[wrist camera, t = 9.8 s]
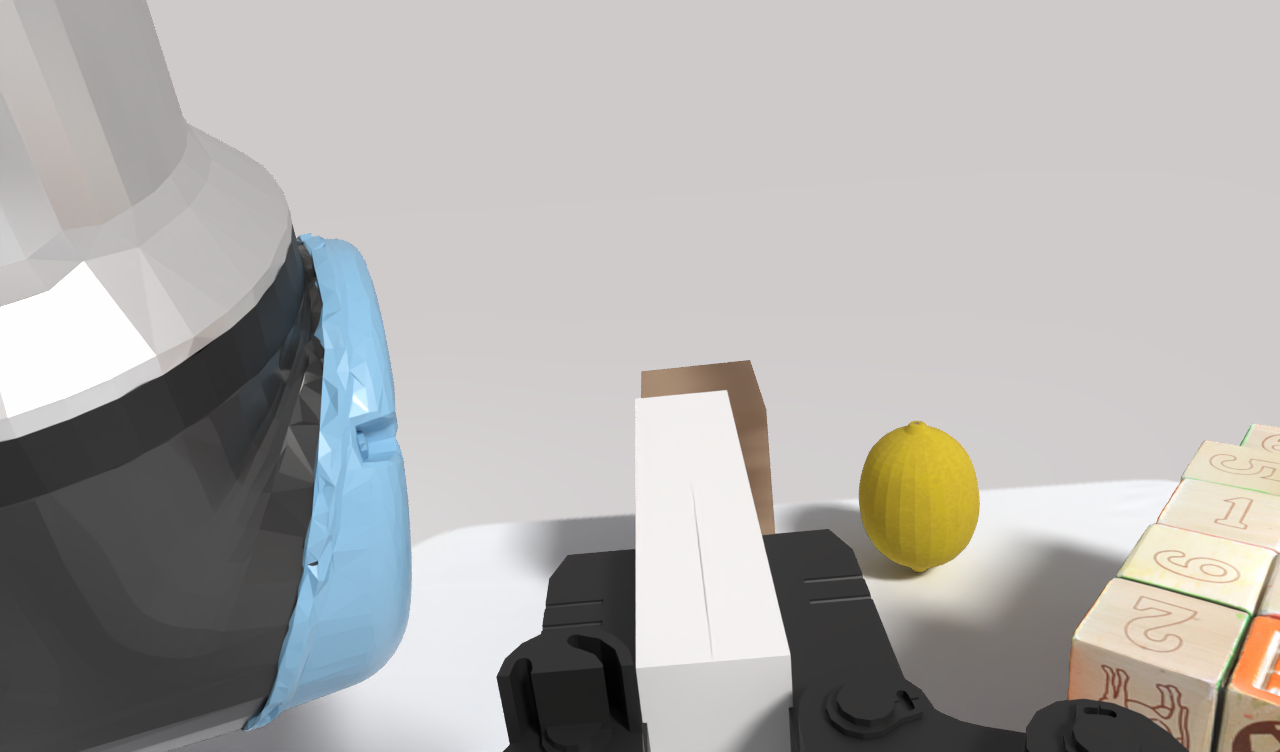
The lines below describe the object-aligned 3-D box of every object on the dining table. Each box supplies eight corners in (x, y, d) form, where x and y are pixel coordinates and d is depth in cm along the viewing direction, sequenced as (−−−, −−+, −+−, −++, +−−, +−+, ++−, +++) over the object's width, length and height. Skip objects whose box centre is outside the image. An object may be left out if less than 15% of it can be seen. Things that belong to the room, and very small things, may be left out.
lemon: (838, 573, 46) (832, 427, 43) (906, 530, 49) (903, 391, 46) (934, 617, 42) (933, 459, 39) (1001, 567, 45) (1005, 417, 42)
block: (669, 651, 40) (641, 422, 36) (666, 576, 46) (641, 371, 42) (782, 641, 40) (766, 409, 36) (765, 567, 46) (749, 360, 42)
